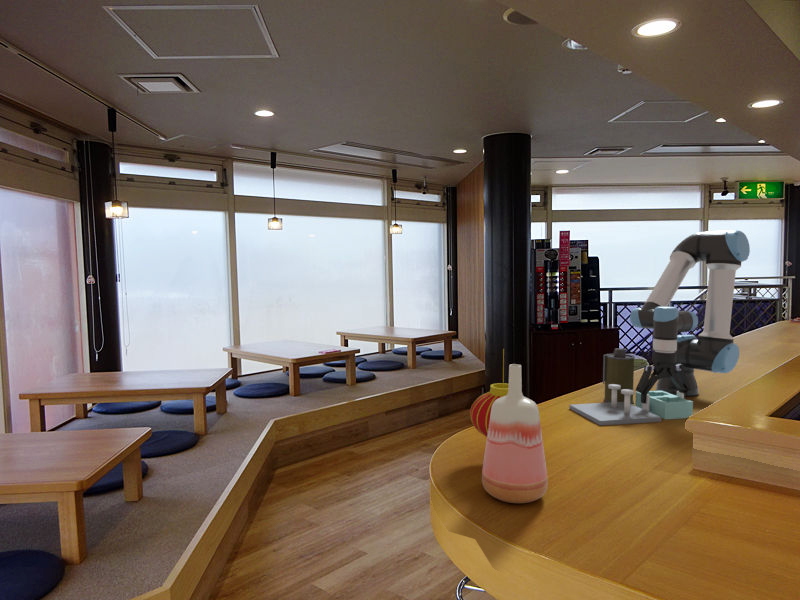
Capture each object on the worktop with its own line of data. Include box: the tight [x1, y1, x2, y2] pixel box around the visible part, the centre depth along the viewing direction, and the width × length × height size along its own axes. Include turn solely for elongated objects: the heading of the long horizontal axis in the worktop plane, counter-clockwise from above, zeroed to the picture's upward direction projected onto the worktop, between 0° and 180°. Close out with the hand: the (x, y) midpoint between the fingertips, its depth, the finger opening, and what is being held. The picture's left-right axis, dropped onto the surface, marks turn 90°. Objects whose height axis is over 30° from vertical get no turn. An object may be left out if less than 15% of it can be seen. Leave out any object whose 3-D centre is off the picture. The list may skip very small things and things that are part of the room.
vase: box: [481, 363, 548, 504], centre depth 117 cm, size 14×14×30 cm
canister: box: [602, 347, 636, 405], centre depth 198 cm, size 11×10×20 cm
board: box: [569, 384, 662, 426], centre depth 180 cm, size 22×20×9 cm
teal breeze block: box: [634, 390, 694, 420], centre depth 184 cm, size 10×16×6 cm, turn 10°
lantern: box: [469, 348, 509, 438], centre depth 138 cm, size 17×17×30 cm
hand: (662, 411), depth 184 cm, fingers open, 13 cm apart
